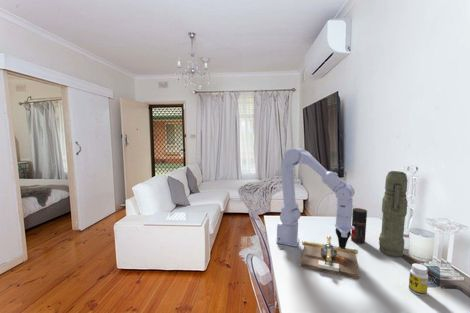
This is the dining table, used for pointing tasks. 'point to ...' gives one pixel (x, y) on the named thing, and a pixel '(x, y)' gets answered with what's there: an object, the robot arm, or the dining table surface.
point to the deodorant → (359, 225)
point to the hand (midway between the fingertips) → (342, 247)
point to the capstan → (331, 250)
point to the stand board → (314, 255)
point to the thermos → (393, 214)
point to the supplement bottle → (418, 279)
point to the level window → (328, 266)
